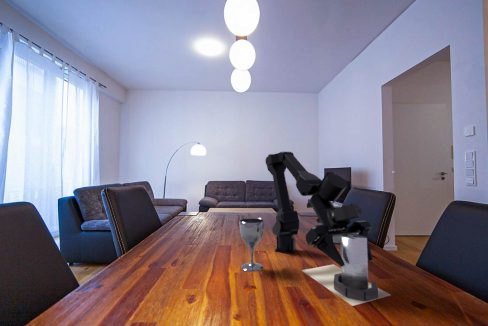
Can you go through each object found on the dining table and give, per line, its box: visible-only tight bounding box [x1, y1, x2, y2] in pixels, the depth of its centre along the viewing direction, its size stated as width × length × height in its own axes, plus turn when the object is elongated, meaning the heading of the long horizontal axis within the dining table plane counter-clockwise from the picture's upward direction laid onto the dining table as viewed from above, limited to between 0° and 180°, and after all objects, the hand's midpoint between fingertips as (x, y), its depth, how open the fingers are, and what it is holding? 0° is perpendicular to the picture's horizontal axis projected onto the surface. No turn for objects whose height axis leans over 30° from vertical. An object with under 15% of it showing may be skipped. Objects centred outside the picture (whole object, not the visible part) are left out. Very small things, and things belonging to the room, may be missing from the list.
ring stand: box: [301, 263, 391, 307], centre depth 60 cm, size 19×12×3 cm, turn 20°
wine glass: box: [239, 217, 265, 273], centre depth 72 cm, size 8×8×15 cm
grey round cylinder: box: [340, 234, 369, 290], centre depth 56 cm, size 6×6×13 cm
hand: (357, 263), depth 55 cm, fingers open, 9 cm apart
